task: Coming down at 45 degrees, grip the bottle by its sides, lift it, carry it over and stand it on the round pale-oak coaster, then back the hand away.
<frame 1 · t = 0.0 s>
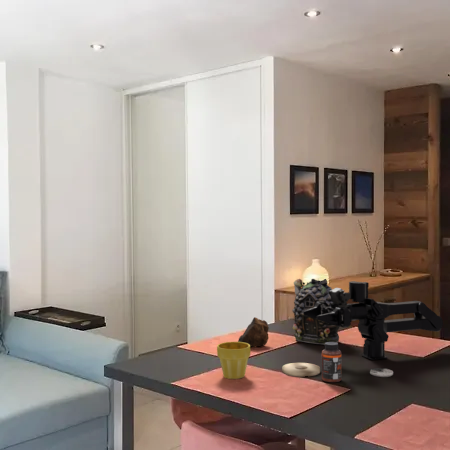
hand: (310, 315, 193), 17 cm above the table, tool horizontal, fingers open, 9 cm apart
supplement bottle: (331, 380, 175), on the table
coaster: (301, 371, 185), on the table
decorative house: (316, 341, 228), on the table
plant pot: (233, 376, 180), on the table
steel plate: (381, 373, 182), on the table
decorative rock: (254, 346, 221), on the table
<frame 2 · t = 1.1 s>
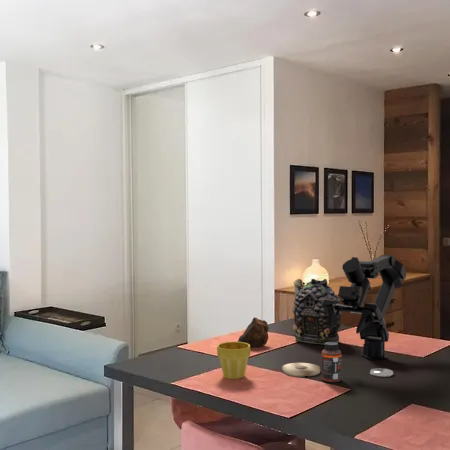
hand: (343, 331, 182), 14 cm above the table, tool tilted 45°, fingers open, 9 cm apart
nothing on the table moved.
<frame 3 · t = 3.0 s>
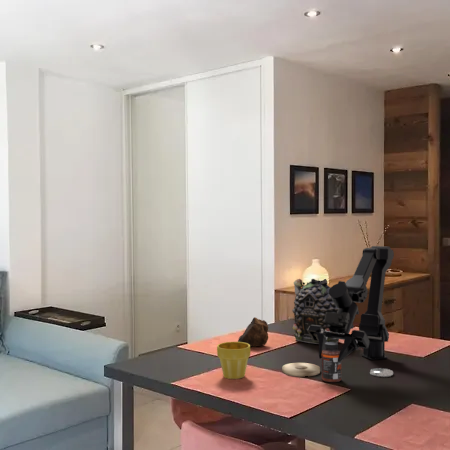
hand: (329, 359, 174), 7 cm above the table, tool tilted 45°, fingers closed on supplement bottle, 6 cm apart
supplement bottle: (331, 380, 175), on the table, touching gripper
everything else where it was.
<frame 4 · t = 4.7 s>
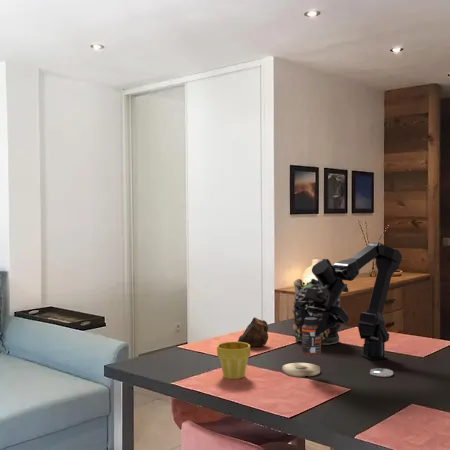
hand: (308, 333, 180), 13 cm above the table, tool tilted 45°, fingers closed on supplement bottle, 6 cm apart
supplement bottle: (311, 354, 181), point 6 cm above the table, touching gripper
everything else where it was.
when the fingers open (9 cm above the table, at t = 6.3 s): supplement bottle stays where it is, resting on coaster.
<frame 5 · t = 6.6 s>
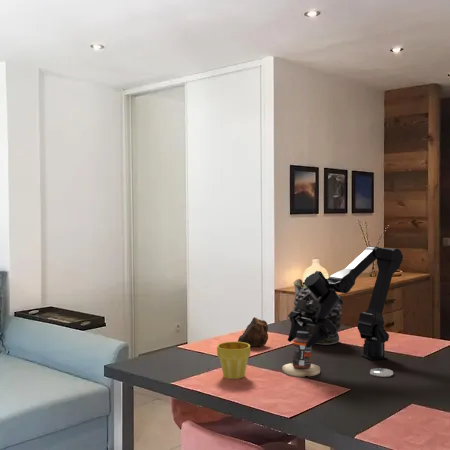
hand: (297, 343, 184), 9 cm above the table, tool tilted 45°, fingers open, 9 cm apart
supplement bottle: (301, 367, 185), point 1 cm above the table, touching coaster
everything else where it was.
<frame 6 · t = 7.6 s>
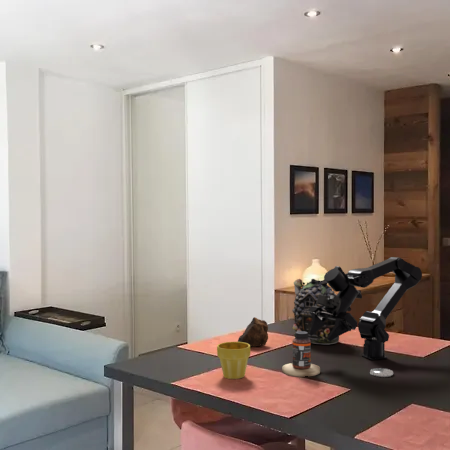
hand: (319, 337, 189), 10 cm above the table, tool tilted 45°, fingers open, 9 cm apart
nothing on the table moved.
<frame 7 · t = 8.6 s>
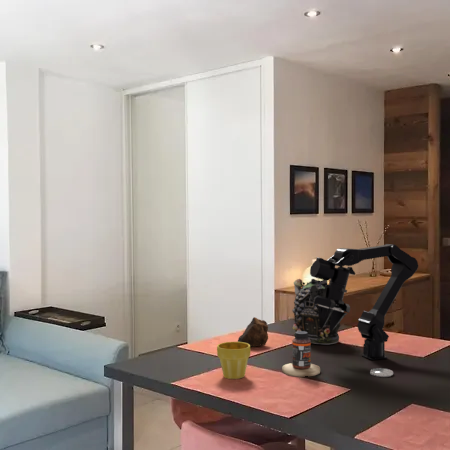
hand: (326, 328, 195), 11 cm above the table, tool tilted 15°, fingers open, 9 cm apart
nothing on the table moved.
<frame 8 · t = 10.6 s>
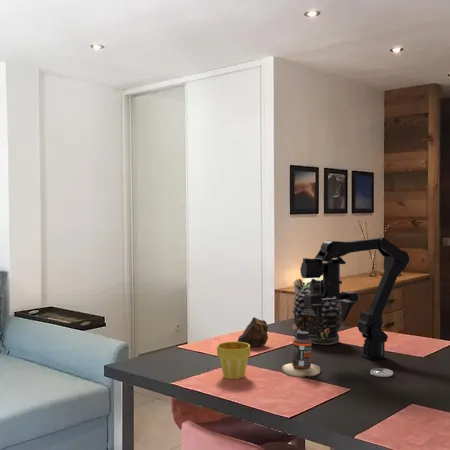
hand: (331, 322, 198), 13 cm above the table, tool pointing down, fingers open, 9 cm apart
nothing on the table moved.
at the end: supplement bottle inside the target area on the coaster (0.2 cm from its centre), point 1.1 cm above the coaster's base; supplement bottle tilted 2°; the gripper is holding nothing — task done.
